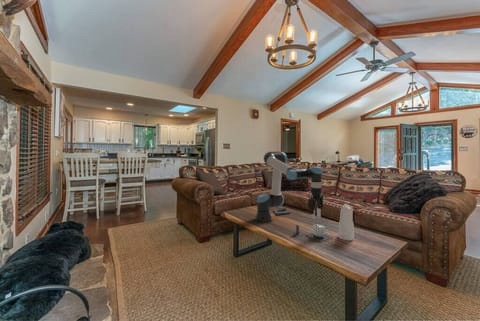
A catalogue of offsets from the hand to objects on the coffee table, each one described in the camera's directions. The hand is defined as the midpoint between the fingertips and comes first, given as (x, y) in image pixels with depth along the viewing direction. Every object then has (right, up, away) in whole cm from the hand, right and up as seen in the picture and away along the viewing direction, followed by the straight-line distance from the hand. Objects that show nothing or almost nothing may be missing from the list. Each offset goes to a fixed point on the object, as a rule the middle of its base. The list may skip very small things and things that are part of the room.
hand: (315, 217), depth 165 cm
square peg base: (+2, -15, -2) cm, 15 cm away
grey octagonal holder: (+2, -12, -2) cm, 12 cm away
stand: (-13, -15, +4) cm, 20 cm away
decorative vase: (+22, -15, -1) cm, 27 cm away
